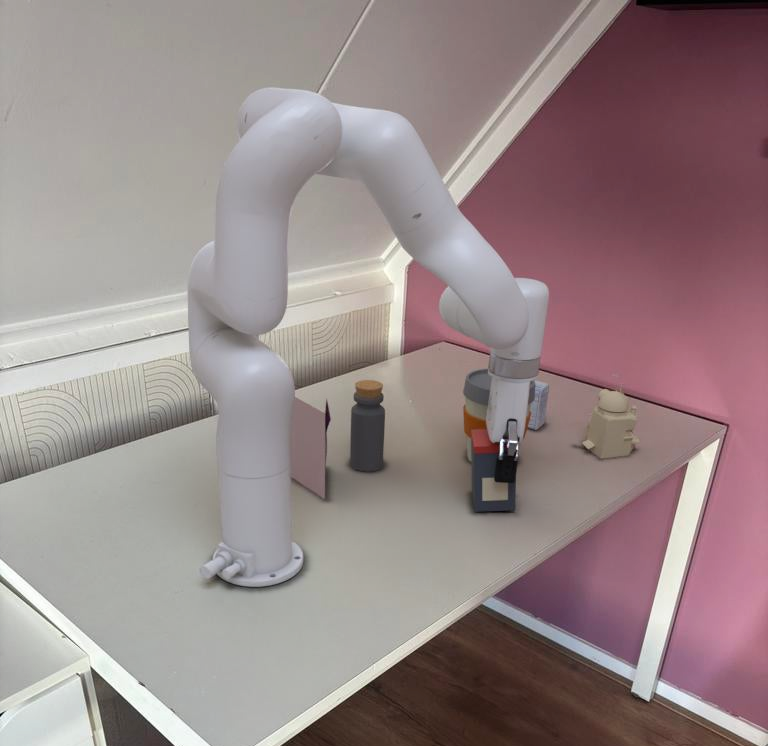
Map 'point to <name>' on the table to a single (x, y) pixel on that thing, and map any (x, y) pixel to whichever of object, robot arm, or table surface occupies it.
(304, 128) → the robot arm
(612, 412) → the robot
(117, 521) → the table surface
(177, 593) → the table surface
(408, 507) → the table surface
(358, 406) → the bottle
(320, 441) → the greeting card
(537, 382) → the medicine box
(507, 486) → the red-lidded grey box
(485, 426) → the reusable coffee cup
